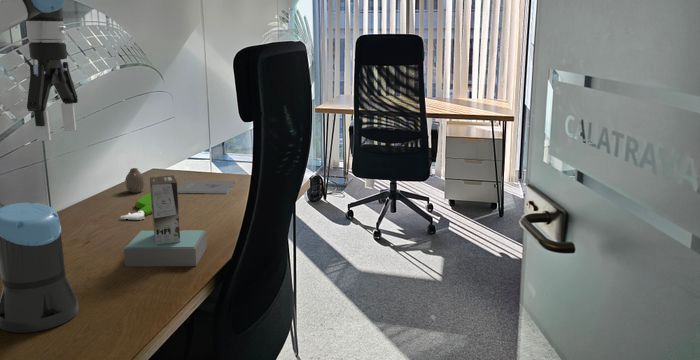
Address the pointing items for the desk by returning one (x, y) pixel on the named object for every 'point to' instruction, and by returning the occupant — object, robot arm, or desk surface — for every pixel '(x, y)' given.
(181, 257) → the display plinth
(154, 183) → the coffee box
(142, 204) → the spray bottle
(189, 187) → the play button award
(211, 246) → the desk surface
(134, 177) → the vase
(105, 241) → the desk surface
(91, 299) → the desk surface
